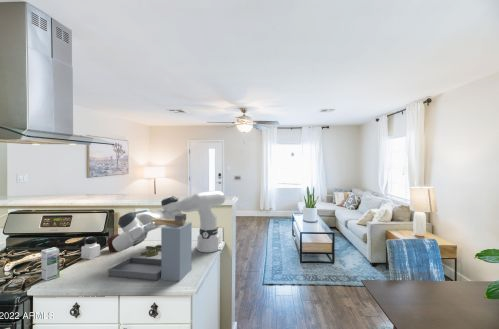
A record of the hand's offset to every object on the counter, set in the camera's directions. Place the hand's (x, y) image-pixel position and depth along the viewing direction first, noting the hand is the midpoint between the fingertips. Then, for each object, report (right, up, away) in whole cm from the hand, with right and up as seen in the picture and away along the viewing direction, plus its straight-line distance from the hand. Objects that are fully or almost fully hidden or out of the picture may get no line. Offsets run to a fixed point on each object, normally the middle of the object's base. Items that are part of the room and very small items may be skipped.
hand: (159, 221), depth 136 cm
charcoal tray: (-10, -27, +2) cm, 29 cm away
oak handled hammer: (+5, -2, -1) cm, 5 cm away
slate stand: (+10, -28, -1) cm, 29 cm away
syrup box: (-53, -27, -6) cm, 60 cm away
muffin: (-40, -27, +34) cm, 59 cm away
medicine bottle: (-50, -27, +22) cm, 61 cm away
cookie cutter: (-15, -28, +32) cm, 45 cm away
